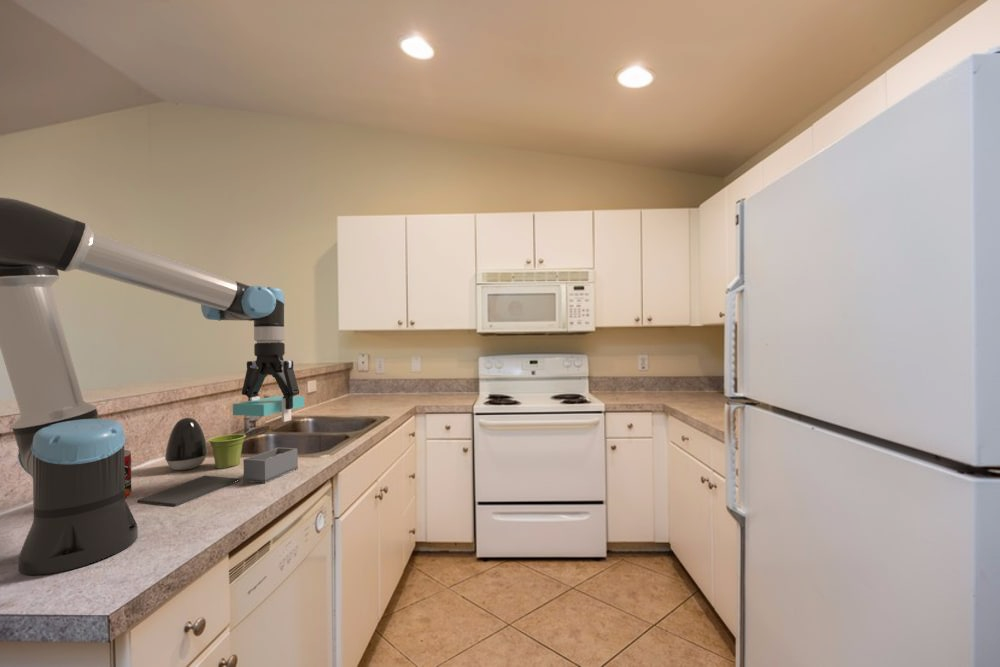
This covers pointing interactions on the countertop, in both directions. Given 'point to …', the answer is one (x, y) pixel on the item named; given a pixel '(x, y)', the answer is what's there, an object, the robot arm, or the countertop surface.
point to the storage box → (270, 464)
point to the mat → (187, 491)
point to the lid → (265, 406)
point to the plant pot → (227, 449)
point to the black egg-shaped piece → (186, 445)
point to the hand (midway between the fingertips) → (270, 420)
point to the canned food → (127, 472)
